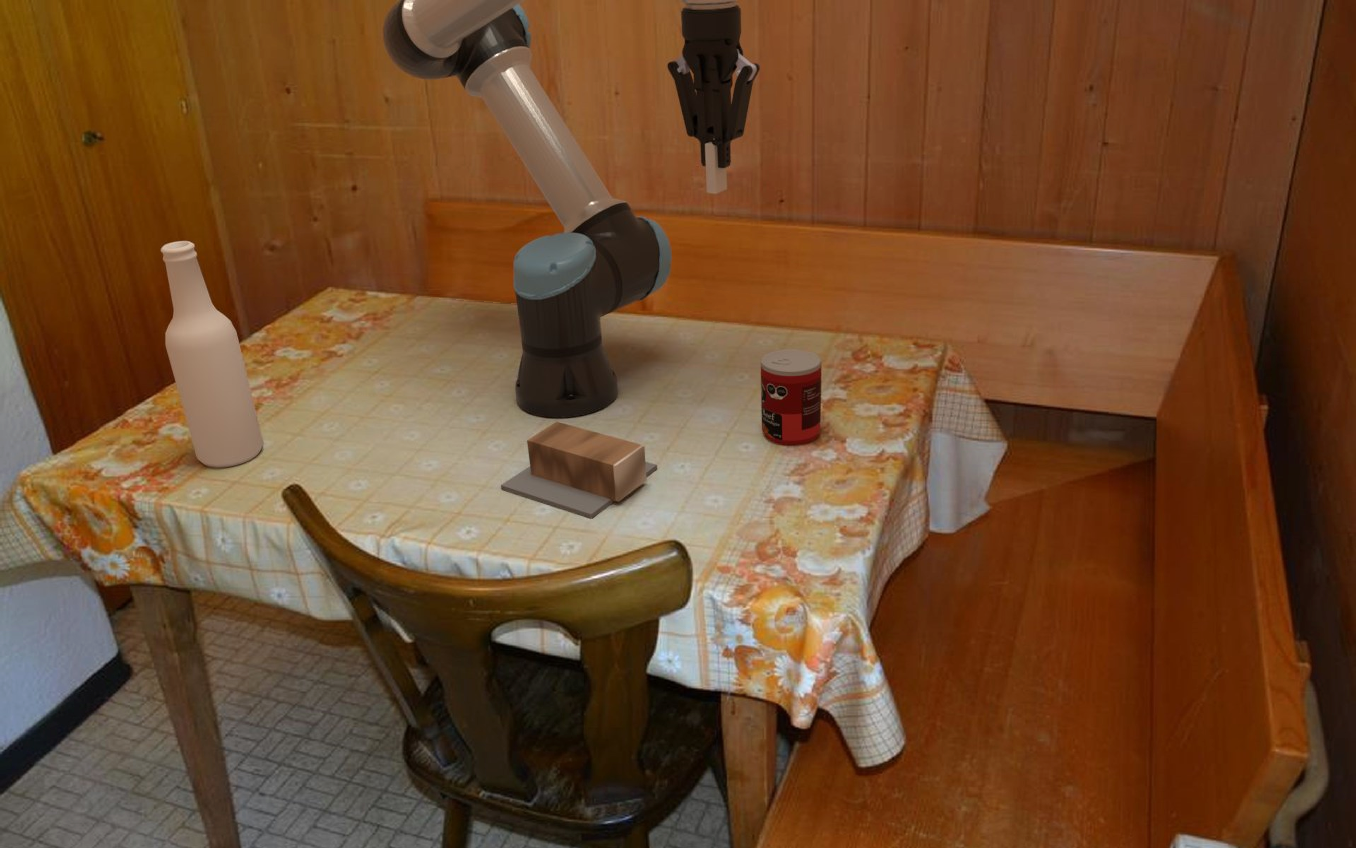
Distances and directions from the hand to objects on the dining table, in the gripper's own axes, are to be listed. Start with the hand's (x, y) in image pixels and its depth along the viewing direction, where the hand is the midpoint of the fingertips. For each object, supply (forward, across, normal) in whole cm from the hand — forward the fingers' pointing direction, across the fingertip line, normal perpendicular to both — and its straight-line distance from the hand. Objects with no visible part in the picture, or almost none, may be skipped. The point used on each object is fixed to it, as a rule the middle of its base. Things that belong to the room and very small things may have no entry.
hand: (716, 190), depth 148 cm
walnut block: (+27, +6, -30) cm, 41 cm away
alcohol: (+31, -49, -50) cm, 76 cm away
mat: (+30, -2, -30) cm, 43 cm away
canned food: (+31, +15, -6) cm, 35 cm away
